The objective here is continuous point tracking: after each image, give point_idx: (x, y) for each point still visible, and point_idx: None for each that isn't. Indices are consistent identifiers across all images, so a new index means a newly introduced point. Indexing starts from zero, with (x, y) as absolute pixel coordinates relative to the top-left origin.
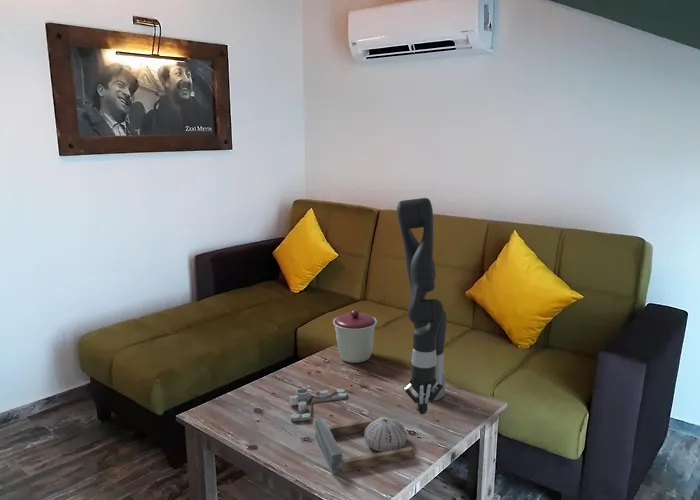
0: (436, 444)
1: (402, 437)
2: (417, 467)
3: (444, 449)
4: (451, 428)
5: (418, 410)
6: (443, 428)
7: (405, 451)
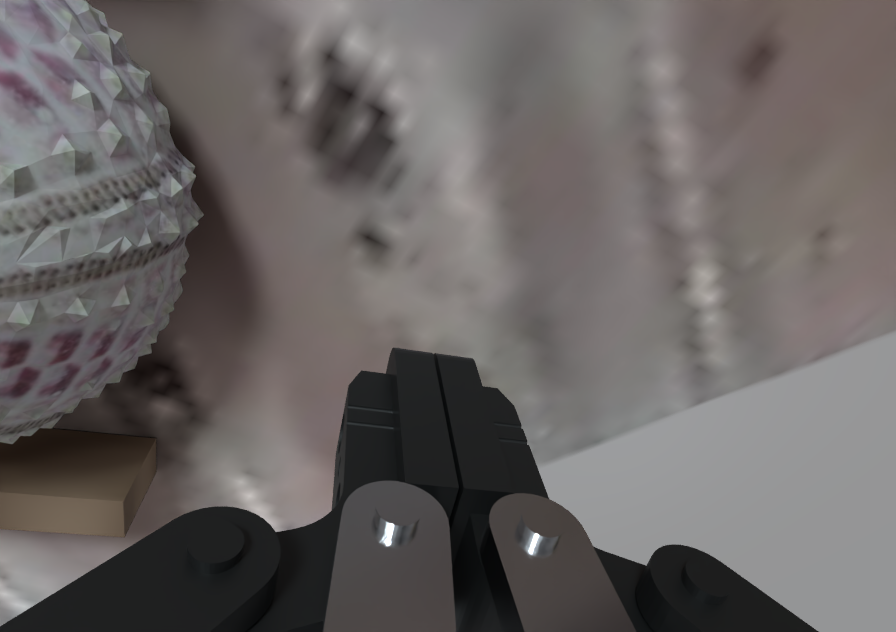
0: None
1: (51, 412)
2: None
3: None
4: (740, 260)
5: (340, 442)
6: (682, 225)
7: (40, 527)
